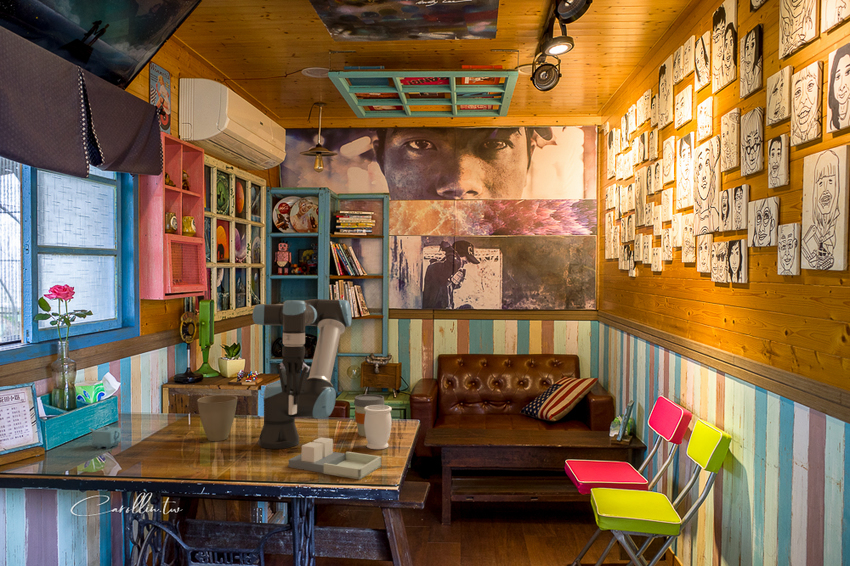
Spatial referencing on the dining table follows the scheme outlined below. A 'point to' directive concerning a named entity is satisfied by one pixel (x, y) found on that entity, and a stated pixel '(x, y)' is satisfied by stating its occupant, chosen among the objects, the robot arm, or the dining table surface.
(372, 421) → the jar
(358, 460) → the tray
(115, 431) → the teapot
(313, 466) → the board
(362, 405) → the reusable coffee cup
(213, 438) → the plant pot
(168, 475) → the dining table surface
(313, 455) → the block
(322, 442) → the block
